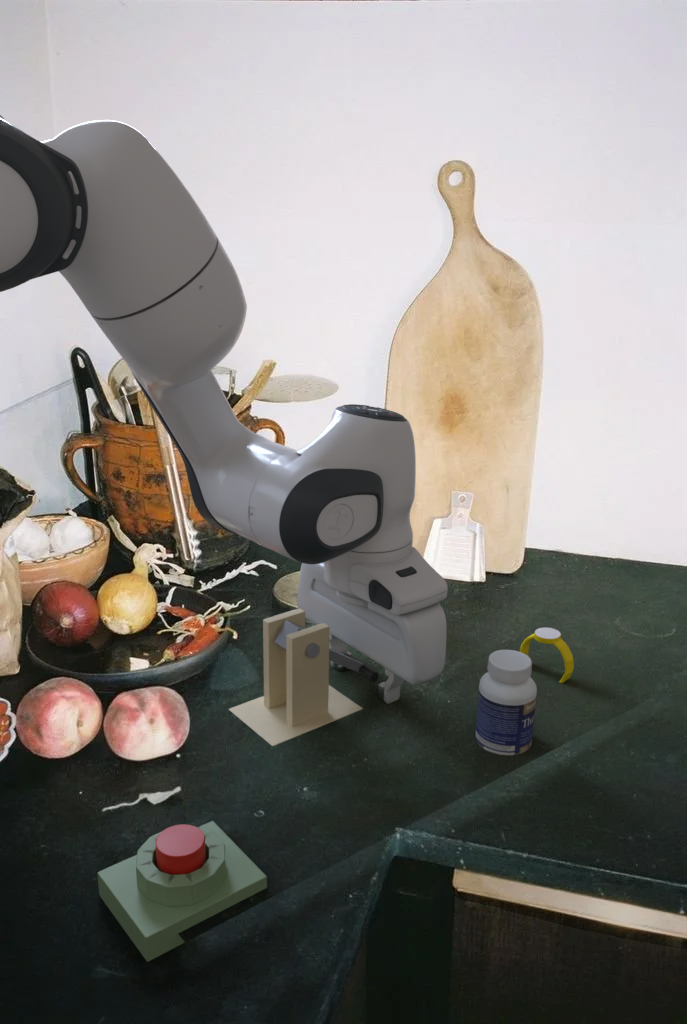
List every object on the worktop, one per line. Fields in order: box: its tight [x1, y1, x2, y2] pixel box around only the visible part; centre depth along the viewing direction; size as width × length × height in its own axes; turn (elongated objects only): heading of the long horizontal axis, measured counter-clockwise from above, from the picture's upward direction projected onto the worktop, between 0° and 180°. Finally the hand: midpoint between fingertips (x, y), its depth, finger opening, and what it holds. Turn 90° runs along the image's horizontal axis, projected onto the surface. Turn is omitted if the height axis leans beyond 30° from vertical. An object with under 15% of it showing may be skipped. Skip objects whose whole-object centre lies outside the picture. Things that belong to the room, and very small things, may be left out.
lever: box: [275, 620, 380, 683], centre depth 94 cm, size 12×5×2 cm
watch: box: [519, 627, 575, 684], centre depth 101 cm, size 6×3×6 cm, turn 47°
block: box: [96, 820, 268, 963], centre depth 70 cm, size 10×8×4 cm
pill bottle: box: [474, 649, 538, 756], centre depth 88 cm, size 5×5×10 cm
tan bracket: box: [228, 607, 364, 747], centre depth 92 cm, size 11×8×11 cm
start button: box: [156, 823, 206, 875], centre depth 69 cm, size 4×4×2 cm
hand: (364, 683), depth 99 cm, fingers open, 7 cm apart
